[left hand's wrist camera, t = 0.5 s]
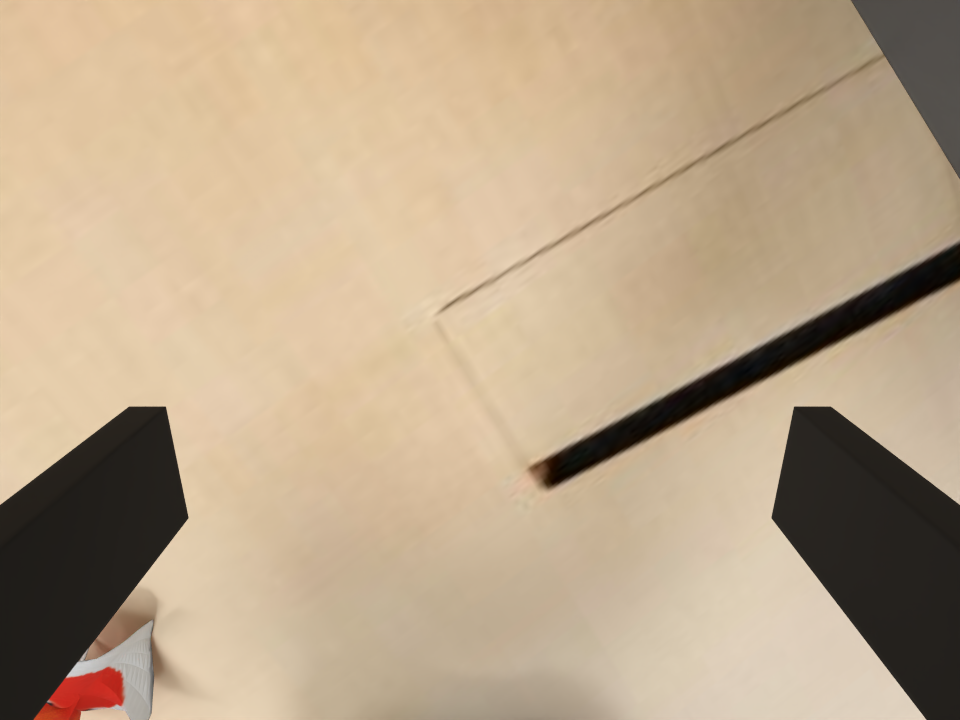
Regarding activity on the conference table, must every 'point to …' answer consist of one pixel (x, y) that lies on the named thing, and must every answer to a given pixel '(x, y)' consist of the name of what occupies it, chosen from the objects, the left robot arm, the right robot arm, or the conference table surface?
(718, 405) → the conference table surface
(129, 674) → the fish
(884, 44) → the beam
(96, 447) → the left robot arm
